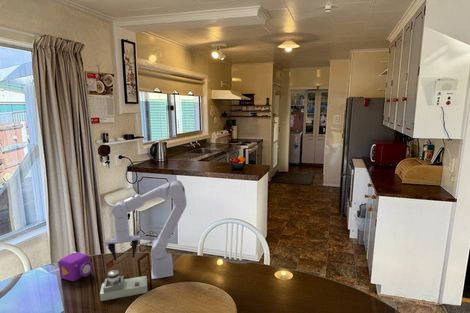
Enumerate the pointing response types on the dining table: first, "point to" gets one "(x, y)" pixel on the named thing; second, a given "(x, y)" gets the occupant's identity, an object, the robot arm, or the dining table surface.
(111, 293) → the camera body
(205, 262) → the dining table surface
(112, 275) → the lens
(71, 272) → the toy camera
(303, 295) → the dining table surface
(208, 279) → the dining table surface
